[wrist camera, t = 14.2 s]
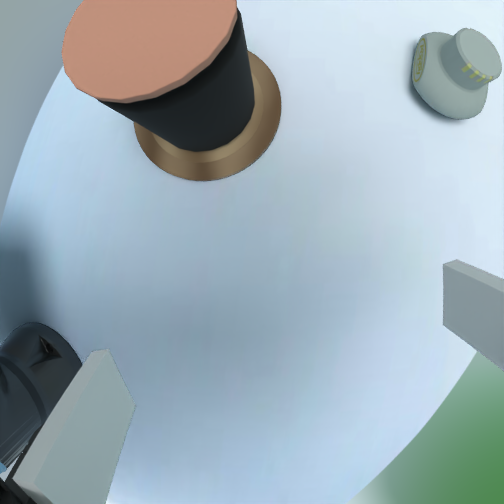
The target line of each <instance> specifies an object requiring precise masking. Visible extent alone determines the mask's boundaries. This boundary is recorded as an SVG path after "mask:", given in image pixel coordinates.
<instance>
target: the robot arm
mask: <svg viewBox="0 0 504 504" xmlns="http://www.w3.org/2000/svg"><path fill="white" fill-rule="evenodd" d="M443 325H444V326H445V327H446V328H448V329H449V330H450V331H452V332H453V333H455V334H456V335H457V336H459V337H460V338H461V339H463V340H464V341H465V342H467V343H468V344H469V345H471V346H472V347H473V348H474V349H476V350H477V351H479V352H480V353H481V354H482V355H484V356H485V357H486V358H488V359H489V360H490V361H491V362H493V363H494V364H495V365H497V366H498V367H499V368H500V369H502V370H503V371H504V279H502V278H499V277H497V276H495V275H492V274H490V273H488V272H485V271H483V270H481V269H478V268H476V267H474V266H471V265H469V264H466V263H464V262H462V261H459V260H457V259H456V260H454V261H451V262H448V263H445V264H443ZM135 407H136V405H135V403H134V401H133V399H132V397H131V395H130V393H129V391H128V389H127V387H126V385H125V383H124V381H123V379H122V377H121V375H120V372H119V370H118V368H117V366H116V364H115V362H114V359H113V357H112V355H111V353H110V350H109V349H104V350H98V351H92V352H91V354H90V355H89V357H88V358H87V359H86V361H85V362H84V364H83V365H82V364H81V362H80V360H79V359H78V357H77V355H76V354H75V352H74V351H73V349H72V348H71V347H70V346H69V344H68V343H67V342H66V341H65V340H64V339H63V338H62V337H61V336H60V335H59V334H58V333H56V332H55V331H54V330H52V329H51V328H49V327H47V326H45V325H42V324H39V323H27V324H24V325H23V326H21V327H19V328H17V329H15V330H14V331H13V332H11V333H10V335H9V336H8V337H7V339H6V340H5V341H4V343H3V344H2V345H1V347H0V474H1V473H2V472H5V471H6V470H7V468H8V467H9V466H10V464H12V463H13V462H14V460H15V459H16V458H17V457H18V456H19V455H20V456H19V458H18V460H17V461H16V463H15V465H14V466H13V468H12V470H11V471H10V473H9V475H8V477H7V479H6V480H5V482H4V481H3V480H2V479H1V478H0V504H105V503H106V500H107V496H108V493H109V489H110V486H111V483H112V479H113V476H114V473H115V469H116V466H117V463H118V460H119V456H120V453H121V450H122V447H123V444H124V441H125V437H126V434H127V431H128V428H129V425H130V422H131V419H132V416H133V413H134V410H135ZM22 452H23V453H22Z"/></svg>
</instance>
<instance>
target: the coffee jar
mask: <svg viewBox="0 0 504 504" xmlns="http://www.w3.org/2000/svg"><path fill="white" fill-rule="evenodd" d="M62 58H63V63H64V69H65V73H66V74H67V76H68V77H69V78H70V80H71V81H72V83H73V84H74V85H75V87H76V88H77V89H79V90H81V91H82V92H84V93H86V94H88V95H90V96H92V97H94V98H96V99H97V100H98V101H99V102H101V103H103V104H105V105H106V106H108V107H110V108H112V109H113V110H115V111H117V112H119V113H120V114H122V115H124V116H125V117H127V118H129V119H131V120H132V121H134V122H136V123H137V124H139V125H141V126H142V127H144V128H146V129H147V130H149V131H151V132H152V133H154V134H156V135H157V136H159V137H161V138H162V139H164V140H166V141H167V142H169V143H171V144H172V145H174V146H176V147H177V148H179V149H183V150H188V151H193V152H200V151H210V150H214V149H216V148H219V147H221V146H224V145H226V144H228V143H229V142H231V141H232V140H233V139H234V138H236V137H237V136H238V135H239V134H241V133H242V131H243V130H244V128H245V127H246V125H247V124H248V122H249V121H250V120H251V116H252V113H253V109H254V106H255V96H254V86H253V80H252V74H251V68H250V62H249V57H248V51H247V45H246V40H245V34H244V29H243V23H242V18H241V13H240V11H239V10H238V8H237V1H236V0H84V1H83V2H82V3H81V4H80V6H79V7H78V8H77V9H76V11H75V13H74V15H73V17H72V19H71V21H70V23H69V25H68V27H67V29H66V31H65V36H64V41H63V48H62Z"/></svg>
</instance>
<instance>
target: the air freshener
mask: <svg viewBox="0 0 504 504" xmlns="http://www.w3.org/2000/svg"><path fill="white" fill-rule="evenodd" d="M501 70H502V65H501V60H500V56H499V54H498V52H497V50H496V48H495V46H494V45H493V44H492V42H491V41H490V40H489V39H488V38H487V37H486V36H484V35H483V34H481V33H480V32H478V31H476V30H474V29H468V28H463V29H461V30H459V31H458V32H457V33H456V34H455V35H454V36H452V35H449V34H446V33H441V32H432V33H427V34H424V35H422V36H421V38H420V40H419V42H418V44H417V48H416V51H415V55H414V61H413V69H412V81H413V85H414V87H415V88H416V90H417V92H418V93H419V94H420V96H421V97H422V98H423V99H424V101H425V102H426V103H427V104H428V105H430V106H431V107H432V108H433V109H434V110H436V111H438V112H439V113H441V114H443V115H445V116H447V117H450V118H454V119H469V118H472V117H475V116H476V115H478V114H479V113H480V112H481V111H482V109H483V107H484V104H485V102H486V98H487V92H488V83H489V82H491V81H493V80H494V79H496V78H498V77H499V76H500V74H501Z"/></svg>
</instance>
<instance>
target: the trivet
mask: <svg viewBox="0 0 504 504" xmlns="http://www.w3.org/2000/svg"><path fill="white" fill-rule="evenodd" d="M247 51H248V50H247ZM248 57H249V62H250V68H251V74H252V80H253V86H254V96H255V106H254V109H253V113H252V116H251V120H250V121H249V122H248V124H247V125H246V127H245V128H244V130H243V131H242V133H241V134H239V135H238V136H237V137H236V138H234V139H233V140H232V141H231V142H229V143H228V144H226V145H224V146H221V147H219V148H216V149H214V150H210V151H200V152H193V151H188V150H183V149H179V148H177V147H176V146H174V145H172V144H171V143H169V142H167V141H166V140H164V139H162V138H161V137H159V136H157V135H156V134H154V133H152V132H151V131H149V130H147V129H146V128H144V127H142V126H141V125H139V124H137V123H136V122H134V127H135V133H136V136H137V139H138V142H139V144H140V146H141V148H142V150H143V151H144V153H145V154H146V156H147V157H148V158H149V159H150V160H151V161H152V162H153V163H154V164H155V165H157V166H158V167H159V168H161V169H162V170H164V171H166V172H167V173H170V174H172V175H174V176H177V177H180V178H184V179H187V180H194V181H211V180H218V179H222V178H226V177H229V176H231V175H234V174H236V173H238V172H240V171H242V170H244V169H245V168H247V167H248V166H250V165H251V164H253V163H254V162H255V161H256V160H257V159H258V158H259V157H260V156H261V155H262V154H263V153H264V152H265V151H266V149H267V148H268V146H269V145H270V143H271V142H272V140H273V138H274V136H275V134H276V131H277V128H278V125H279V121H280V115H281V96H280V91H279V87H278V84H277V81H276V79H275V77H274V75H273V74H272V72H271V70H270V69H269V68H268V66H267V65H266V64H265V63H264V62H263V61H262V60H261V59H260V58H258V57H257V56H256V55H254V54H253V53H251V52H250V51H248Z"/></svg>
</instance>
